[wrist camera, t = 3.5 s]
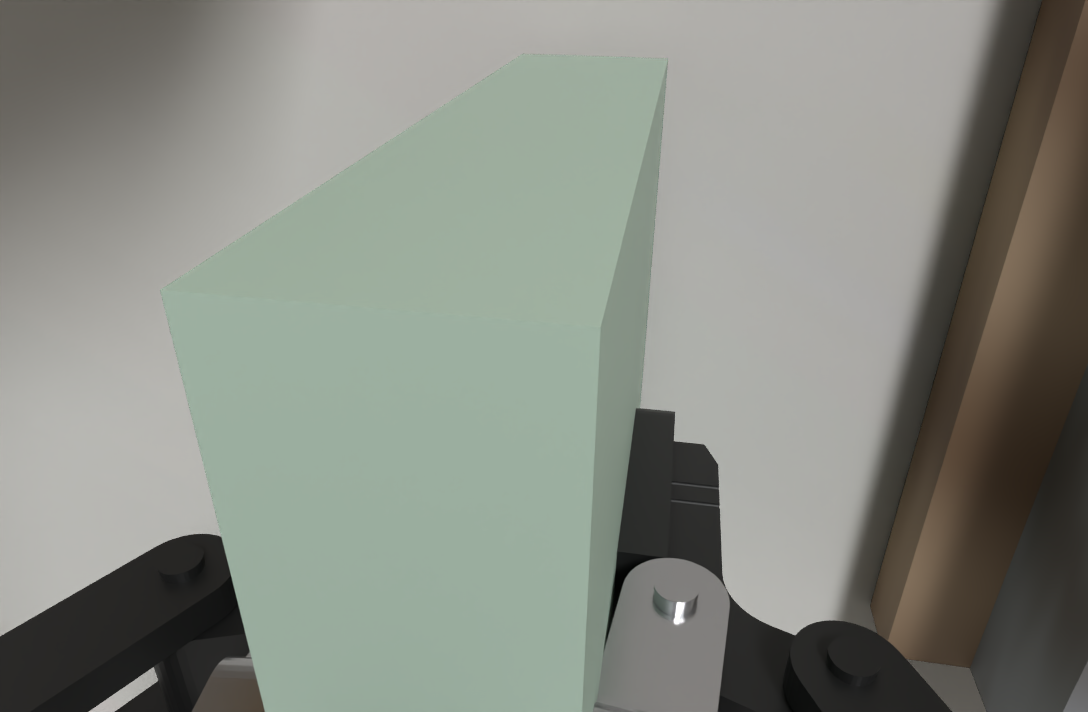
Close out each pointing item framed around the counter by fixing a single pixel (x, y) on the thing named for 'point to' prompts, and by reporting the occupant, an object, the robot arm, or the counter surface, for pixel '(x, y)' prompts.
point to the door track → (1010, 418)
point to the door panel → (437, 399)
